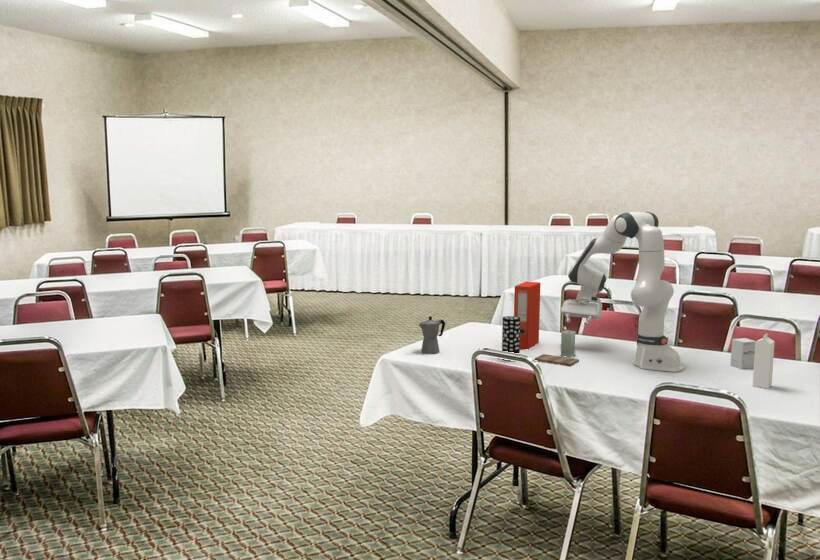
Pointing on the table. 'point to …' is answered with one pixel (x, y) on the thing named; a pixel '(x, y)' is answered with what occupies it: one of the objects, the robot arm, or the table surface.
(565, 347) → the tea tin
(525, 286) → the file binder
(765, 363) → the milk
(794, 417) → the table surface
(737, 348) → the supplement box
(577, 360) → the board
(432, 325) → the coffeepot
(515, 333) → the spotted tube
